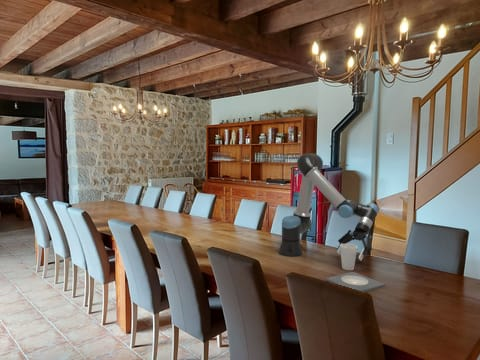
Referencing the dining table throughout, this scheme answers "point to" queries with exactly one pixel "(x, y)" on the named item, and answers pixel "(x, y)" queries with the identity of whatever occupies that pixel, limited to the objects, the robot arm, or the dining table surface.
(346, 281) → the grey square plate
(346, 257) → the foam cup
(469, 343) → the dining table surface
